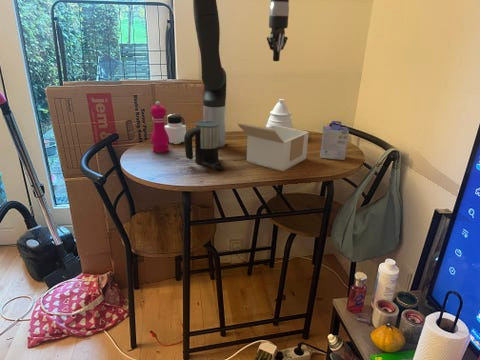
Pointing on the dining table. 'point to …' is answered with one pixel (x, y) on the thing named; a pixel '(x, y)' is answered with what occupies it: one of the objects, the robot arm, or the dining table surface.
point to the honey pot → (280, 115)
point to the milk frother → (204, 144)
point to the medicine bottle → (175, 129)
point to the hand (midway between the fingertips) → (276, 61)
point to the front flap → (260, 132)
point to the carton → (278, 149)
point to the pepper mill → (159, 129)
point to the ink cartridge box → (334, 141)
